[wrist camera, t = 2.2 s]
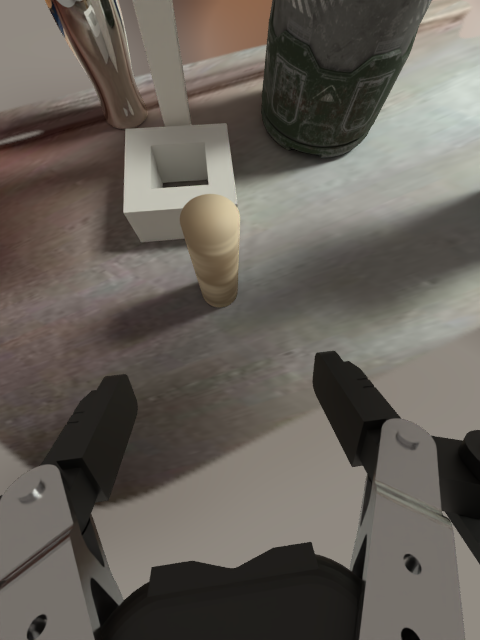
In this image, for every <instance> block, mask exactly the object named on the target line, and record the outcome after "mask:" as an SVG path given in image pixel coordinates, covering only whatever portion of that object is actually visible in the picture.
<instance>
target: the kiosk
mask: <svg viewBox="0 0 480 640" xmlns="http://www.w3.org/2000/svg"><path fill="white" fill-rule="evenodd" d="M132 1H133V5H134V9H135V13H136V17H137V21H138V24H139V28H140V32H141V36H142V39H143V44H144V48H145V52H146V56H147V59H148V63H149V67H150V71H151V75H152V79H153V83H154V87H155V91H156V94H157V98H158V102H159V106H160V110H161V114H162V118H163V122H164V125H165V127H150V128H132V129H126V130H125V170H124V209H123V213H124V215H125V216H126V218H127V220H128V221H129V223H130V224H131V226H132V228H133V229H134V231H135V233H136V234H137V236H138V238H139V239H140V241H141V242H152V241H164V240H176V239H185V238H184V235H183V231H182V228H181V225H180V214H181V211H182V209H183V207H184V206H185V205H186V203H188V202H189V201H190V200H191V199H193V198H195V197H197V196H200V195H204V194H217V195H221V196H224V197H226V198H228V199H229V200H231V201H232V202H233V203H234V204H235V205H236V207H238V204H237V196H236V189H235V182H234V174H233V167H232V160H231V152H230V145H229V137H228V130H227V123H220V124H202V125H192V124H191V118H190V111H189V105H188V98H187V92H186V86H185V79H184V73H183V66H182V60H181V54H180V47H179V41H178V35H177V28H176V22H175V16H174V9H173V2H172V0H132ZM195 180H208V183H209V185H198V186H184V187H170V188H163V183H166V182H181V181H195Z"/></svg>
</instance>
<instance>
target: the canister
mask: <svg viewBox="0 0 480 640" xmlns="http://www.w3.org/2000/svg"><path fill="white" fill-rule="evenodd" d="M431 1H432V0H273V1H272V7H271V13H270V19H269V29H268V39H267V48H266V59H265V69H264V80H263V90H262V109H261V113H262V118H263V122H264V124H265V127H266V129H267V131H268V133H269V134H270V135H271V137H272V138H273V139H274V140H275V141H276V142H277V143H278V144H280V145H281V146H283V147H284V148H286V149H288V150H291V148H293V149H296V150H298V151H301V152H306V153H310V154H319V157H321V158H325V157H334V156H338V155H342V154H344V153H346V152H348V151H350V150H352V149H353V148H354V147H356V146H357V145H358V144H360V143H361V142H362V140H363V139H364V138H365V137H366V136H367V134H368V132H369V130H370V128H371V126H372V125H373V124H374V122H375V120H376V118H377V116H378V114H379V112H380V110H381V108H382V106H383V104H384V102H385V101H386V99H387V97H388V95H389V93H390V91H391V89H392V87H393V85H394V83H395V81H396V79H397V77H398V75H399V73H400V72H401V70H402V68H403V66H404V64H405V62H406V60H407V58H408V56H409V54H410V51H411V49H412V46H413V43H414V40H415V37H416V34H417V30H418V27H419V25H420V23H421V21H422V19H423V17H424V15H425V13H426V11H427V9H428V7H429V5H430V3H431Z"/></svg>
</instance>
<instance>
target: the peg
mask: <svg viewBox="0 0 480 640" xmlns="http://www.w3.org/2000/svg"><path fill="white" fill-rule="evenodd" d="M180 225H181V228H182V231H183V235H184V238H185V241H186V244H187V247H188V250H189V254H190V257H191V260H192V263H193V266H194V270H195V273H196V276H197V279H198V282H199V285H200V289H201V292H202V295H203V298H204V300H205V301H206V302H207V303H208V304H209V305H211V306H213V307H219V308H220V307H226V306H228V305H230V304H231V303H232V302H233V301H234V300H235V299H236V296H237V291H238V263H239V236H240V214H239V211H238V208H237V207H236V205H235V204H234V203H233V202H232V201H231V200H229V199H228V198H226V197H224V196H221V195H217V194H204V195H200V196H197V197H195V198H193V199H191V200H190V201H189V202H188V203H186V205H185V206H184V207H183V209H182V211H181V214H180Z"/></svg>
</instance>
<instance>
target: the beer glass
mask: <svg viewBox="0 0 480 640" xmlns="http://www.w3.org/2000/svg"><path fill="white" fill-rule="evenodd" d="M45 2H46V4H47V6H48V8H49V10H50V12H51V14H52V16H53V18H54V20H55V22H56V24H57V26H58V28H59V30H60V31H61V33H62V35H63V36H64V38H65V40H66V42H67V44H68V45H69V47H70V48H71V50H72V52H73V53H74V55H75V57H76V58H77V60H78V61H79V63H80V65H81V66H82V68H83V69H84V71H85V73H86V74H87V76H88V78H89V79H90V81H91V83H92V85H93V87H94V89H95V91H96V93H97V96H98V98H99V101H100V105H101V108H102V112H103V115H104V118H105V120H106V121H107V123H108V124H109V125H111V126H112V127H115V128H118V129H131V128H135V127H137V126H139V125H140V124H142V123H143V122H144V121H145V119H146V117H147V108H146V105H145V103H144V101H143V99H142V97H141V95H140V92H139V90H138V88H137V85H136V82H135V79H134V75H133V71H132V66H131V61H130V54H129V48H128V42H127V37H126V31H125V27H124V22H123V17H122V12H121V9H120V5H119V1H118V0H45Z"/></svg>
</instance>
